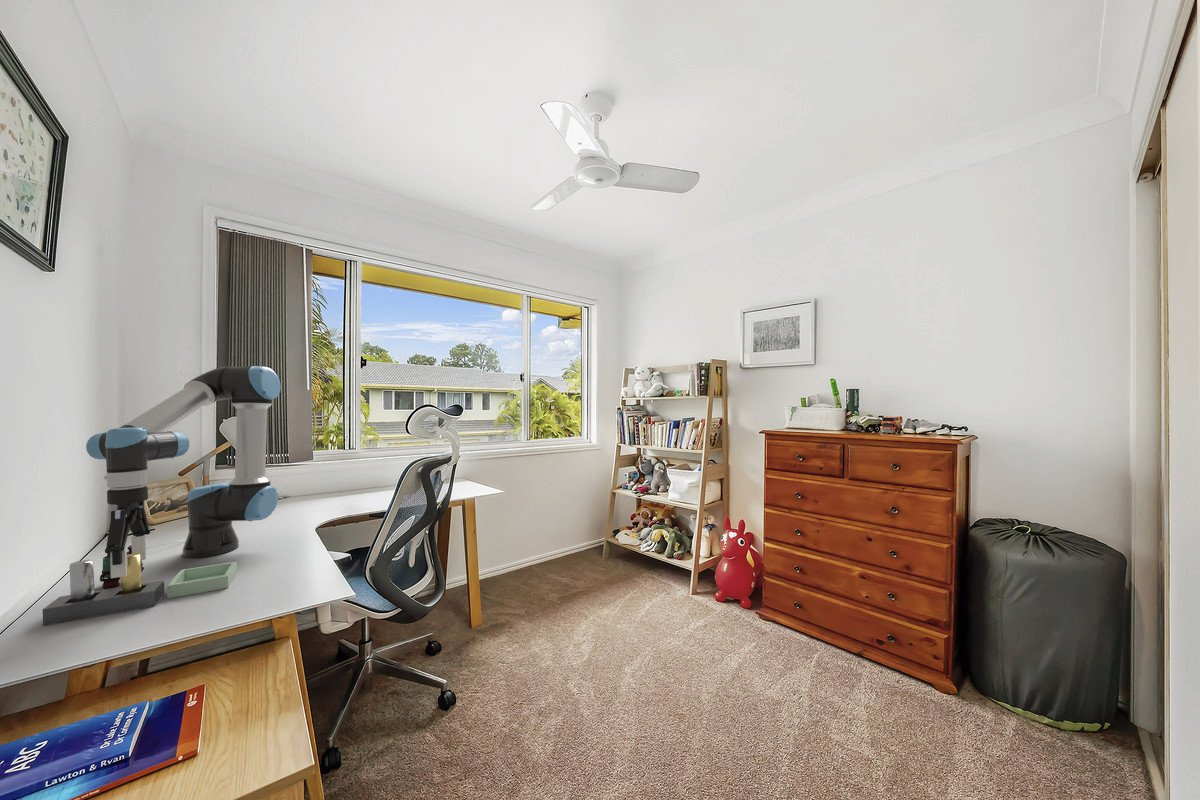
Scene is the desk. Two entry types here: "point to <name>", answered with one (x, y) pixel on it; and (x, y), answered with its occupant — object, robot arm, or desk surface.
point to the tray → (202, 579)
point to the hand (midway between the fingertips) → (129, 568)
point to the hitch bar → (103, 603)
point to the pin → (82, 580)
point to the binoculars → (106, 572)
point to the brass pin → (132, 575)
